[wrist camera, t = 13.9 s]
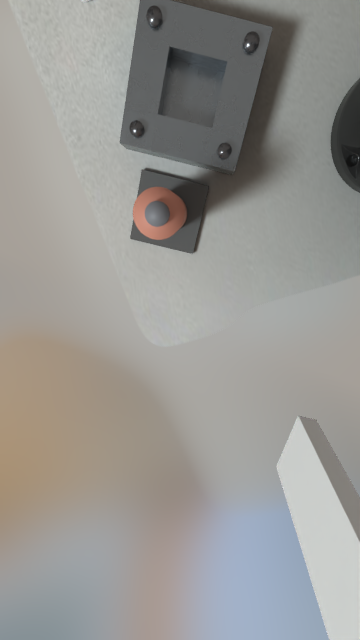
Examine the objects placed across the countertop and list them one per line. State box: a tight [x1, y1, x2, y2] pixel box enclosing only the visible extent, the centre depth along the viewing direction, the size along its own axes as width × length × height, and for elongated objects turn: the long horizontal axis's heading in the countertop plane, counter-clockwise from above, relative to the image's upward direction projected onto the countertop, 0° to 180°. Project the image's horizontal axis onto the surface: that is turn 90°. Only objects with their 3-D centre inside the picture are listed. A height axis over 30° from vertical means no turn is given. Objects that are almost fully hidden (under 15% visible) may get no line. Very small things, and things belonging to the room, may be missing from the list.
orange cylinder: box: [133, 187, 187, 240], centre depth 37 cm, size 5×5×13 cm
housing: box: [120, 0, 273, 175], centre depth 37 cm, size 14×14×5 cm
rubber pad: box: [130, 170, 209, 254], centre depth 43 cm, size 9×9×1 cm
